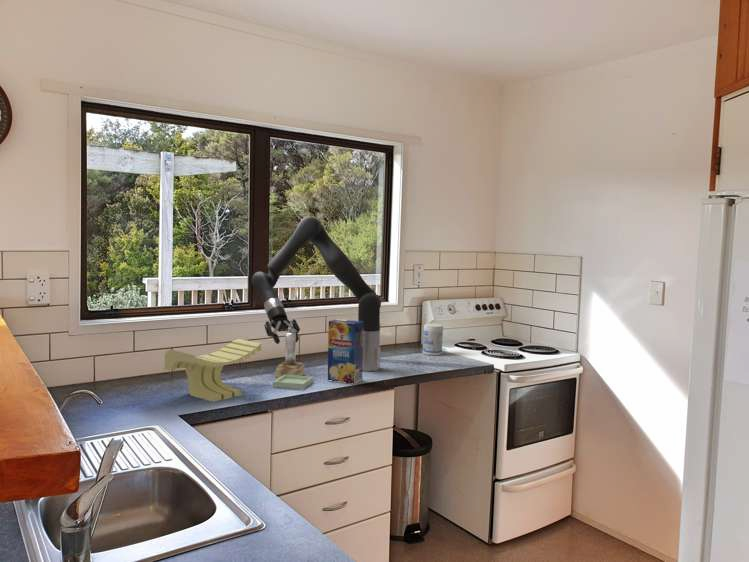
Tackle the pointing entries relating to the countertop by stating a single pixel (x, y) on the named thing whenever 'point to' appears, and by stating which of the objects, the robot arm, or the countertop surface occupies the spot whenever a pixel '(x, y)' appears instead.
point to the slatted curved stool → (211, 368)
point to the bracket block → (290, 369)
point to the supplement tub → (432, 339)
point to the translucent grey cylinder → (290, 348)
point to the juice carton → (345, 350)
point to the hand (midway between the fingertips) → (287, 342)
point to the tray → (293, 381)
